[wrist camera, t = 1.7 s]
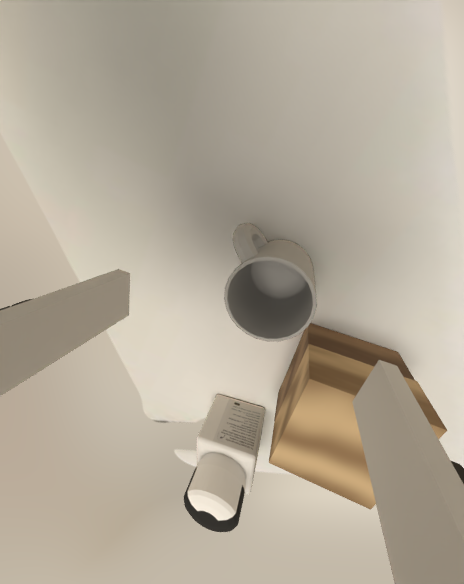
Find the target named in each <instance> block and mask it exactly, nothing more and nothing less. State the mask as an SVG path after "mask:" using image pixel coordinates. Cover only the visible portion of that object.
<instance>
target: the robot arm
mask: <svg viewBox="0 0 464 584" xmlns="http://www.w3.org/2000/svg"><path fill="white" fill-rule="evenodd" d="M129 292H130V273H128V272H125V271H122V270H119V269H118V270H115V271H112V272H109V273H106V274H103V275H100V276H98V277H95V278H92V279H89V280H86V281H83V282H80V283H78V284H75V285H72V286H69V287H67V288H64V289H61V290H58V291H55V292H52V293H49V294H46V295H43V296H41V297H38V298H35V299H29V300H25V301H22V302H19V303H16V304H14V305H12V306H11V307H10V306H8V307H5V308H2V309H0V396H1V395H3V394H4V393H6V392H8V391H9V390H11V389H12V388H14V387H15V386H17V385H19V384H20V383H22V382H23V381H25V380H27V379H28V378H30V377H31V376H33V375H34V374H36V373H37V372H39V371H41V370H43V369H44V368H45V367H47V366H49V365H50V364H52V363H54V362H55V361H57V360H58V359H60V358H62V357H63V356H65V355H66V354H68V353H69V352H71V351H73V350H74V349H76V348H77V347H79V346H81V345H82V344H84V343H85V342H87V341H88V340H90V339H92V338H93V337H95V336H96V335H98V334H100V333H101V332H103V331H104V330H106V329H108V328H109V327H111V326H112V325H114V324H116V323H117V322H119V321H120V320H122V319H123V318H125V317H127V316H128V315H129ZM352 402H353V407H354V411H355V415H356V420H357V424H358V428H359V432H360V437H361V441H362V445H363V450H364V454H365V458H366V462H367V467H368V471H369V475H370V480H371V484H372V488H373V492H374V497H375V501H376V505H377V510H378V514H379V518H380V522H381V527H382V531H383V535H384V539H385V544H386V548H387V552H388V557H389V561H390V565H391V570H392V574H393V578H394V582H395V584H464V468H463V467H462V466H461V465H460V464H458V463H455V462H453V461H450V459H449V457H448V456H447V454H446V452H445V450H444V448H443V447H442V445H441V443H440V441H439V440H438V438H437V436H436V434H435V432H434V431H433V429H432V427H431V425H430V423H429V422H428V420H427V418H426V416H425V415H424V413H423V411H422V409H421V407H420V406H419V404H418V402H417V400H416V399H415V397H414V395H413V393H412V391H411V390H410V388H409V386H408V384H407V382H406V381H405V379H404V377H403V375H402V374H401V372H400V370H399V368H398V366H396V365H393V364H390V363H387V362H384V361H381V360H378V362H377V364H376V365H375V367H374V368H373V370H372V371H371V373H370V375H369V376H368V378H367V379H366V381H365V382H364V384H363V386H362V387H361V389H360V390H359V392H358V394H357V395H356V397H355V398H354V400H353V401H352Z"/></svg>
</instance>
